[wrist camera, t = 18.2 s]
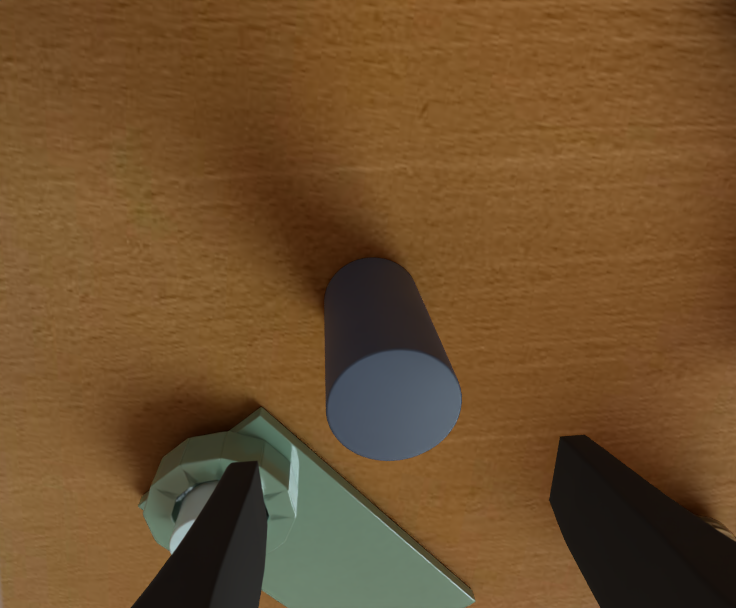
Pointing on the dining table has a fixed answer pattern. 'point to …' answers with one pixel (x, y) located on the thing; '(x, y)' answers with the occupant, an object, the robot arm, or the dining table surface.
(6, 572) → the dining table surface
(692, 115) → the dining table surface
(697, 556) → the robot arm
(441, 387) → the blue gray cylinder
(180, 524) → the light gray smooth cylinder
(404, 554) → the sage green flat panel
